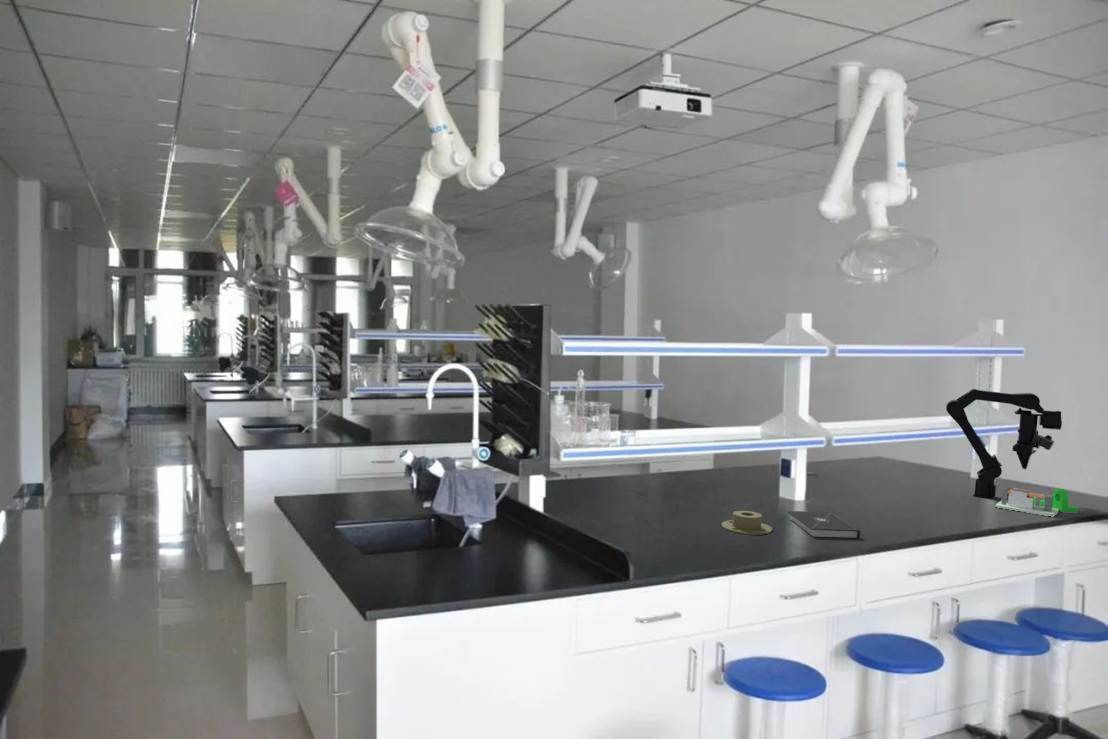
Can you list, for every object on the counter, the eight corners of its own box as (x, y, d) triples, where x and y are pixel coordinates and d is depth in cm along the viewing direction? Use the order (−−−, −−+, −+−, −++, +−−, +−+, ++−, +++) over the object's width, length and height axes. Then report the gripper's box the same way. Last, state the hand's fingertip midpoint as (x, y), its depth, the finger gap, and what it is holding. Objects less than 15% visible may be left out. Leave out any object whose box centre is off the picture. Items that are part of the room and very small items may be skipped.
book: (859, 540, 243) (860, 530, 243) (810, 538, 242) (811, 528, 242) (831, 521, 265) (832, 512, 264) (786, 520, 264) (786, 510, 264)
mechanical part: (1078, 513, 289) (1080, 491, 288) (1061, 513, 288) (1063, 490, 288) (1055, 505, 301) (1057, 484, 300) (1039, 505, 300) (1041, 483, 300)
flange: (742, 505, 260) (712, 512, 250) (782, 516, 249) (753, 523, 239) (741, 520, 260) (711, 527, 250) (782, 531, 249) (752, 538, 239)
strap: (1003, 493, 294) (1003, 489, 294) (1004, 491, 296) (1005, 488, 296) (1043, 498, 286) (1044, 495, 286) (1045, 497, 288) (1045, 494, 288)
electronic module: (1000, 504, 293) (1001, 489, 292) (1004, 501, 298) (1005, 486, 298) (1049, 512, 283) (1051, 496, 283) (1052, 509, 289) (1054, 493, 288)
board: (995, 507, 292) (995, 505, 291) (1001, 502, 301) (1001, 499, 301) (1053, 517, 280) (1054, 514, 280) (1058, 511, 290) (1059, 508, 290)
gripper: (1049, 432, 291) (1045, 475, 292) (1056, 427, 306) (1053, 469, 307) (1014, 428, 298) (1010, 470, 299) (1022, 424, 312) (1019, 464, 314)
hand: (1024, 469), depth 304 cm, fingers closed
